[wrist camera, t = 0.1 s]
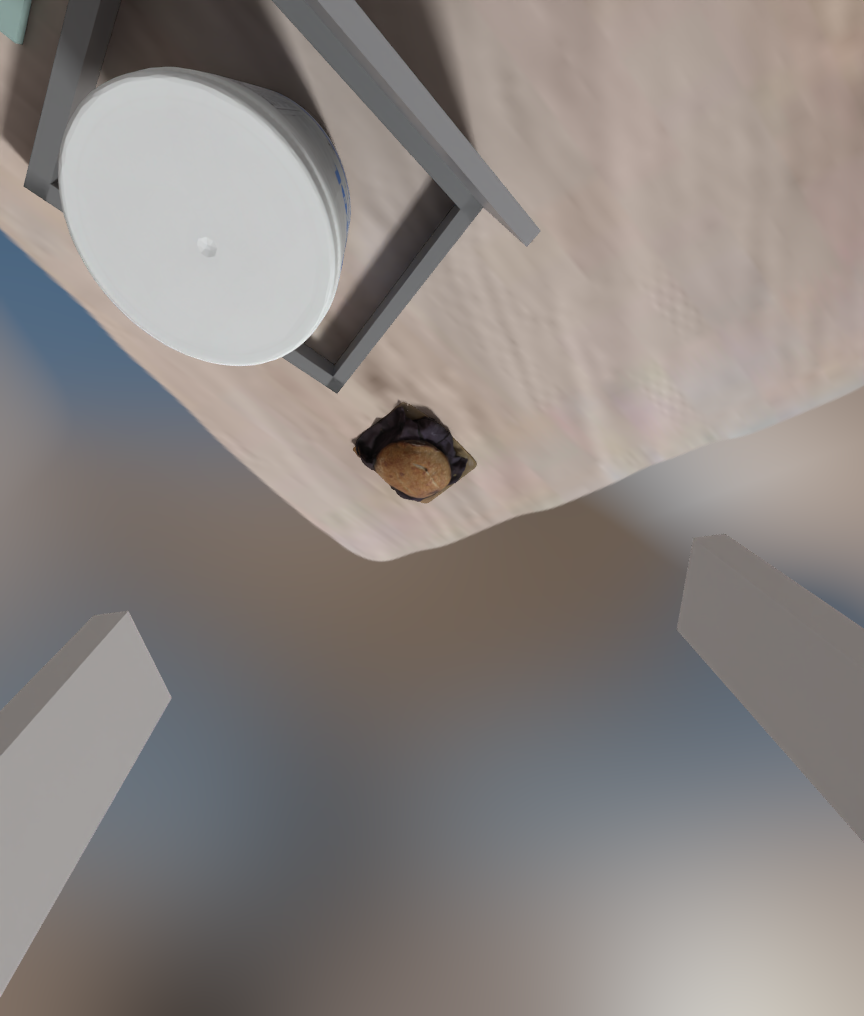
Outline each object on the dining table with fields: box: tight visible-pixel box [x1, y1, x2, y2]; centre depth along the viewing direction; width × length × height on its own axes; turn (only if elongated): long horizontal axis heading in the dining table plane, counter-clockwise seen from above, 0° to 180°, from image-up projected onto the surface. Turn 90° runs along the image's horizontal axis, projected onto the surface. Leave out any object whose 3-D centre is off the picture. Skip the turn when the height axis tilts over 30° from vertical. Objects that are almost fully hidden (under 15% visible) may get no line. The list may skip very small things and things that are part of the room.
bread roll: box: [353, 402, 477, 503], centre depth 40 cm, size 11×8×4 cm
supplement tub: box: [58, 67, 351, 366], centre depth 21 cm, size 10×10×15 cm
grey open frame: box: [24, 0, 540, 393], centre depth 22 cm, size 17×20×12 cm
